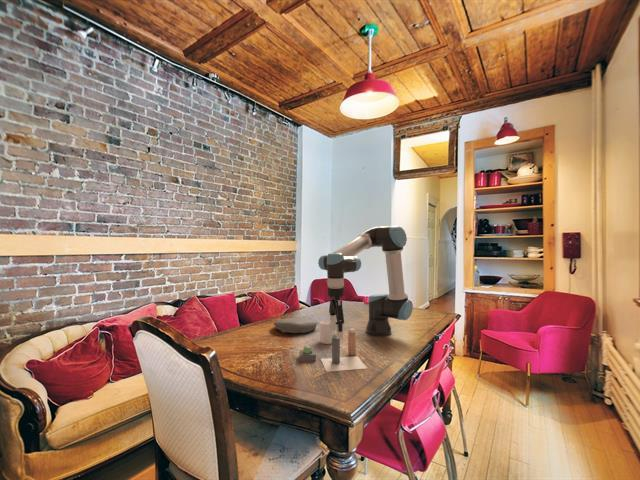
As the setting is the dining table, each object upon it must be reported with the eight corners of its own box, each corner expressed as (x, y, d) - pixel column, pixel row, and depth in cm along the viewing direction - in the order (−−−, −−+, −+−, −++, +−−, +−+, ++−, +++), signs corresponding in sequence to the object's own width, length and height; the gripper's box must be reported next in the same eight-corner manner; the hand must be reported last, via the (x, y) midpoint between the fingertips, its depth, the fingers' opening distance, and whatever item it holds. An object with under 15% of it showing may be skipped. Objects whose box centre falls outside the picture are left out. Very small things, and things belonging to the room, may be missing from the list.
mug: (333, 347, 159) (333, 326, 159) (316, 342, 167) (316, 322, 167) (343, 342, 165) (343, 323, 165) (326, 338, 173) (326, 319, 173)
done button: (310, 353, 145) (310, 345, 145) (312, 356, 141) (312, 348, 141) (303, 354, 144) (303, 345, 144) (303, 357, 140) (303, 348, 140)
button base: (313, 355, 147) (313, 349, 147) (315, 361, 140) (315, 354, 140) (299, 356, 145) (299, 350, 146) (300, 362, 139) (300, 355, 139)
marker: (338, 360, 139) (337, 333, 139) (341, 363, 136) (341, 336, 136) (330, 361, 138) (330, 334, 138) (333, 364, 134) (333, 336, 134)
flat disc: (326, 327, 196) (326, 320, 196) (300, 338, 172) (300, 331, 172) (292, 322, 211) (292, 315, 211) (264, 332, 187) (264, 324, 188)
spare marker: (354, 353, 149) (354, 328, 149) (356, 356, 146) (356, 330, 146) (347, 353, 149) (347, 328, 149) (349, 356, 145) (349, 330, 145)
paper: (357, 356, 145) (357, 356, 145) (367, 368, 131) (367, 368, 131) (320, 359, 142) (320, 358, 142) (326, 372, 128) (326, 371, 128)
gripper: (322, 283, 149) (323, 326, 149) (333, 292, 124) (334, 343, 124) (337, 282, 150) (338, 325, 150) (351, 291, 125) (351, 342, 125)
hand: (336, 333), depth 137 cm, fingers open, 13 cm apart
